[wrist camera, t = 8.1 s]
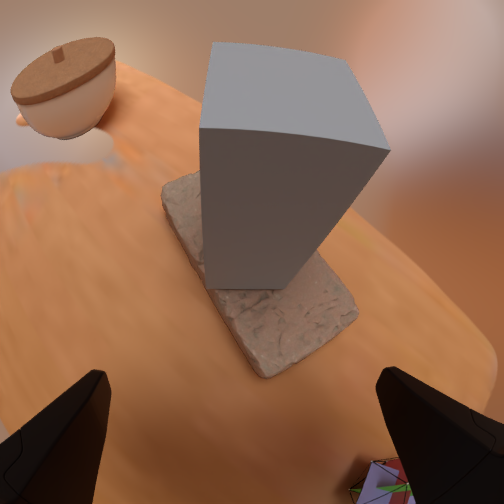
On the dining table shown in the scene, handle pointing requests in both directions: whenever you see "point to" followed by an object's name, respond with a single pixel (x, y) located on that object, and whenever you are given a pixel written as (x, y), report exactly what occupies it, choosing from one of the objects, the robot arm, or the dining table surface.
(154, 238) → the dining table surface
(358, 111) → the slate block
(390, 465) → the geometric puzzle
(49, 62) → the lidded bowl
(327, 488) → the dining table surface
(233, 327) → the brick
